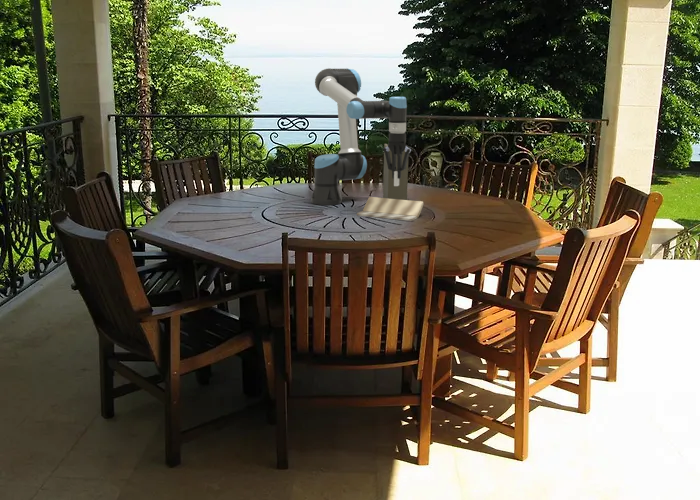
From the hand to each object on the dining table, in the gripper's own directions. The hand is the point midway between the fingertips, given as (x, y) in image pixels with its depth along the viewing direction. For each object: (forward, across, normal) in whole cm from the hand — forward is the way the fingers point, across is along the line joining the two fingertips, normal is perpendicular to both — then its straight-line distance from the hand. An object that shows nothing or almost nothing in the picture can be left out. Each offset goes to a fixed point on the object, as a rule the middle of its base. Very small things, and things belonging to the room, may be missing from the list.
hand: (396, 185), depth 298 cm
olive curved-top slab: (+13, -12, +28) cm, 33 cm away
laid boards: (+13, 0, -10) cm, 17 cm away
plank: (+10, 0, -2) cm, 10 cm away
